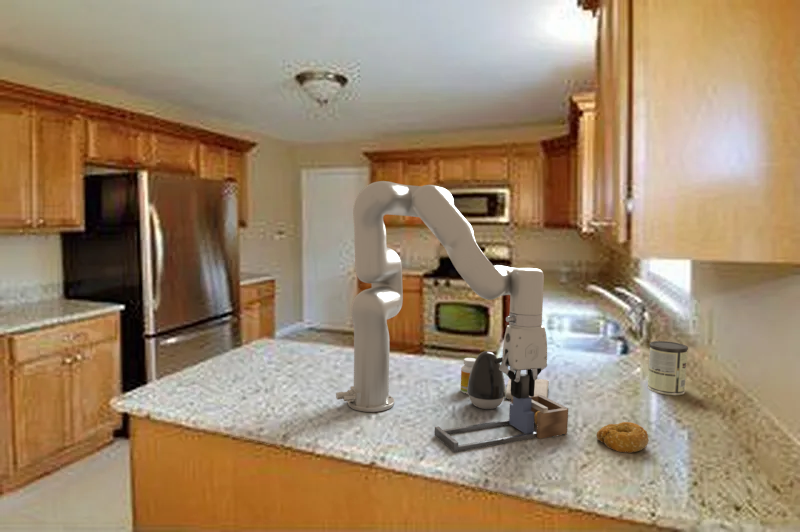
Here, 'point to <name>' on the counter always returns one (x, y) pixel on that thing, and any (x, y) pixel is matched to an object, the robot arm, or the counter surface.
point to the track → (454, 446)
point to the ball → (535, 418)
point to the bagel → (623, 437)
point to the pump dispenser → (486, 381)
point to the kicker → (522, 408)
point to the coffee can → (667, 367)
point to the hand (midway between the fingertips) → (522, 395)
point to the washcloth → (540, 389)
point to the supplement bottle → (466, 373)
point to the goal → (549, 416)
